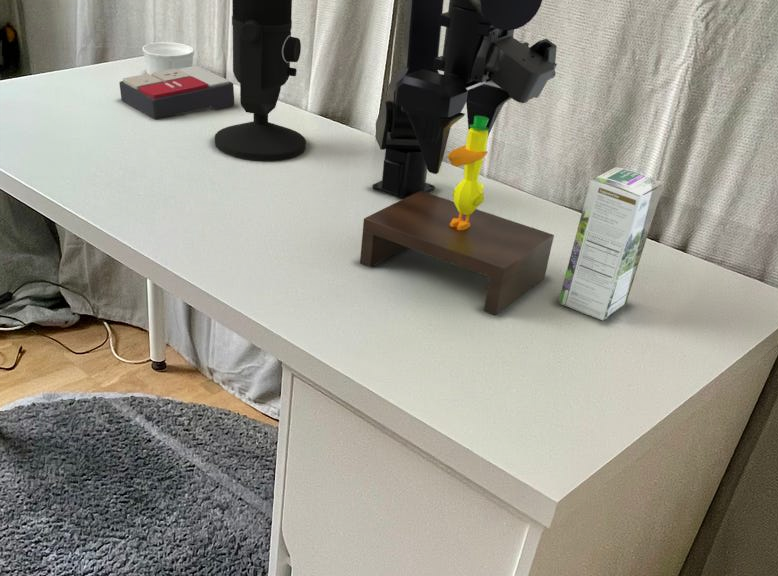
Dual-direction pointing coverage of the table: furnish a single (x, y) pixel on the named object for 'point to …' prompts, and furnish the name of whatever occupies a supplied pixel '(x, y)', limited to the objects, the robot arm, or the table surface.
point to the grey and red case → (177, 91)
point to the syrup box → (609, 241)
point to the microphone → (262, 80)
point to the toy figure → (469, 171)
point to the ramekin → (167, 56)
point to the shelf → (461, 244)
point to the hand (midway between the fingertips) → (455, 162)
